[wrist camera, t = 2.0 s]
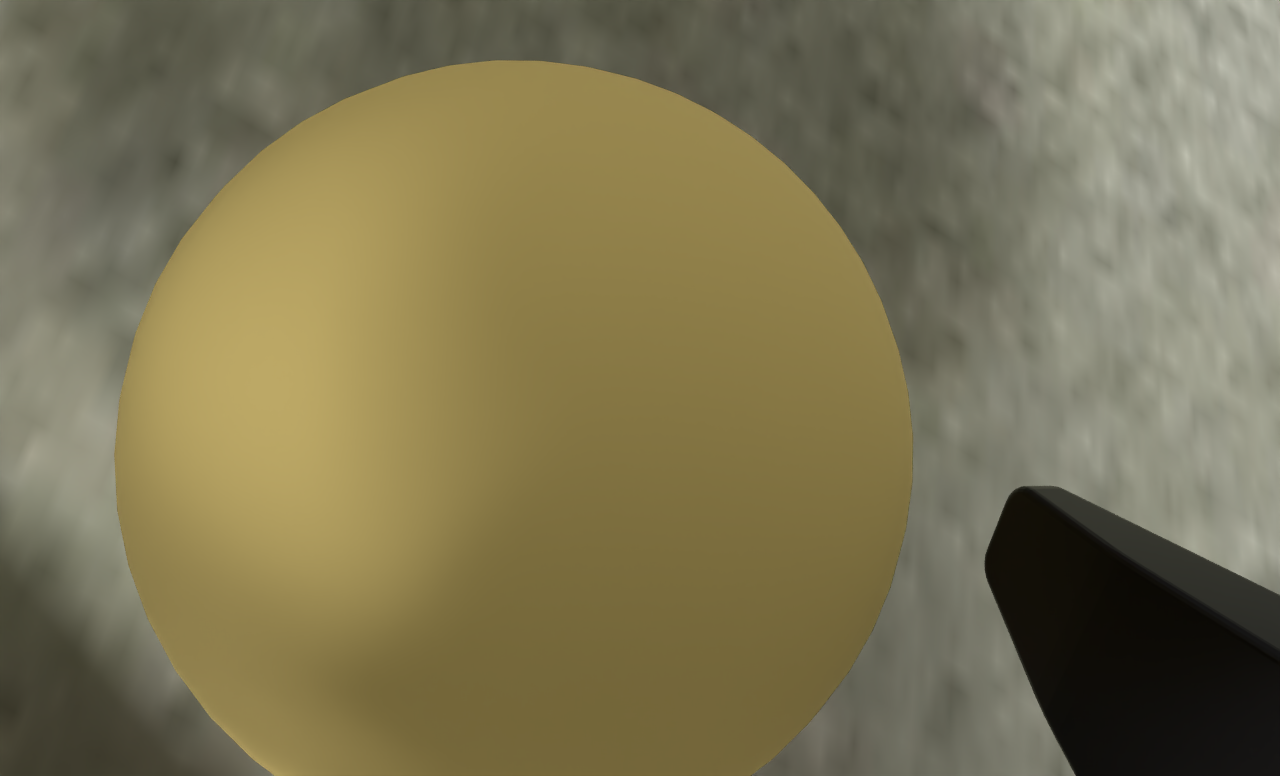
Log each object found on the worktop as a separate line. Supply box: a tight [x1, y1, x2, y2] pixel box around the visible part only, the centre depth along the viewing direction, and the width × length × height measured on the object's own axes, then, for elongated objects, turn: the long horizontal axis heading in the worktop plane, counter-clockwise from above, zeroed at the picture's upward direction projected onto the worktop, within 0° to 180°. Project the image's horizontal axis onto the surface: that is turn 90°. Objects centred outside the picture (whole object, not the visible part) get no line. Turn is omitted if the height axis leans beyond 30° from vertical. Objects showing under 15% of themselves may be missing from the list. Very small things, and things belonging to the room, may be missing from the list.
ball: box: [114, 60, 913, 776], centre depth 10 cm, size 7×7×7 cm
